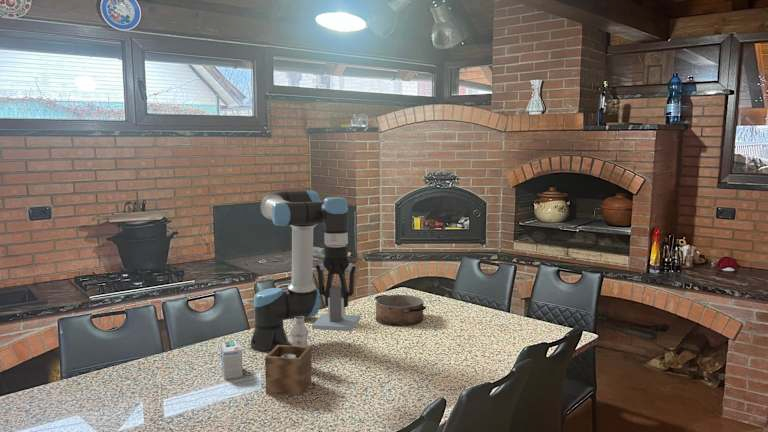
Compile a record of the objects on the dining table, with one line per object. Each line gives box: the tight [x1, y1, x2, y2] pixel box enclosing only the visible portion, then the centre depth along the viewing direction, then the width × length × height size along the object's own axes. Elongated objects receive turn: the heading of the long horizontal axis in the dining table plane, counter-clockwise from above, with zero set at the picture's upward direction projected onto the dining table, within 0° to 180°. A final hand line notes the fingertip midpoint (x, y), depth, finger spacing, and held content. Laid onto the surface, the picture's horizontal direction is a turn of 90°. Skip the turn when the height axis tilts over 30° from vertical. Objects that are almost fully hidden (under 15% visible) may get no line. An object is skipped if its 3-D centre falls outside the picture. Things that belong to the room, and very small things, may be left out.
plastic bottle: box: [290, 316, 309, 347], centre depth 208 cm, size 6×7×20 cm
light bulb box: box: [220, 340, 244, 380], centre depth 204 cm, size 11×7×11 cm, turn 21°
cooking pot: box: [374, 294, 427, 328], centre depth 267 cm, size 30×22×11 cm
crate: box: [264, 345, 312, 396], centre depth 190 cm, size 12×12×14 cm
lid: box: [311, 285, 361, 332], centre depth 184 cm, size 13×13×13 cm
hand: (336, 316), depth 184 cm, fingers closed on lid, 4 cm apart
